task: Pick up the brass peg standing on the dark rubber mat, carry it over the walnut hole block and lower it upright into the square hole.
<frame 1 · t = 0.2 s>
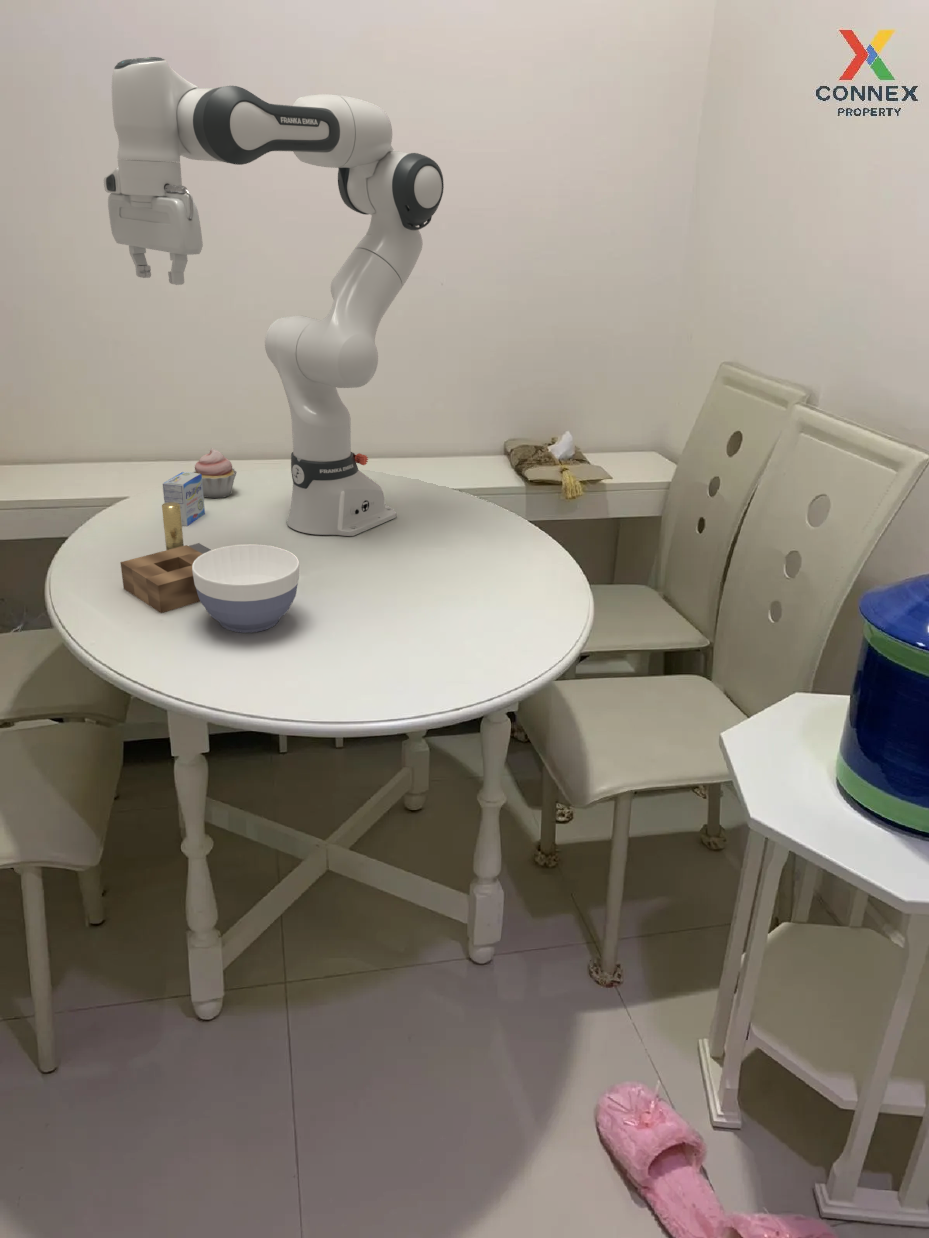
hand: (160, 280, 144), 47 cm above the table, fingers open, 8 cm apart
medicine box: (186, 520, 182), on the table
brass peg: (176, 558, 164), resting on rubber mat
hole block: (175, 592, 152), on the table
cupcake: (215, 494, 197), on the table
bowl: (249, 620, 145), on the table
rubber mat: (186, 557, 165), on the table
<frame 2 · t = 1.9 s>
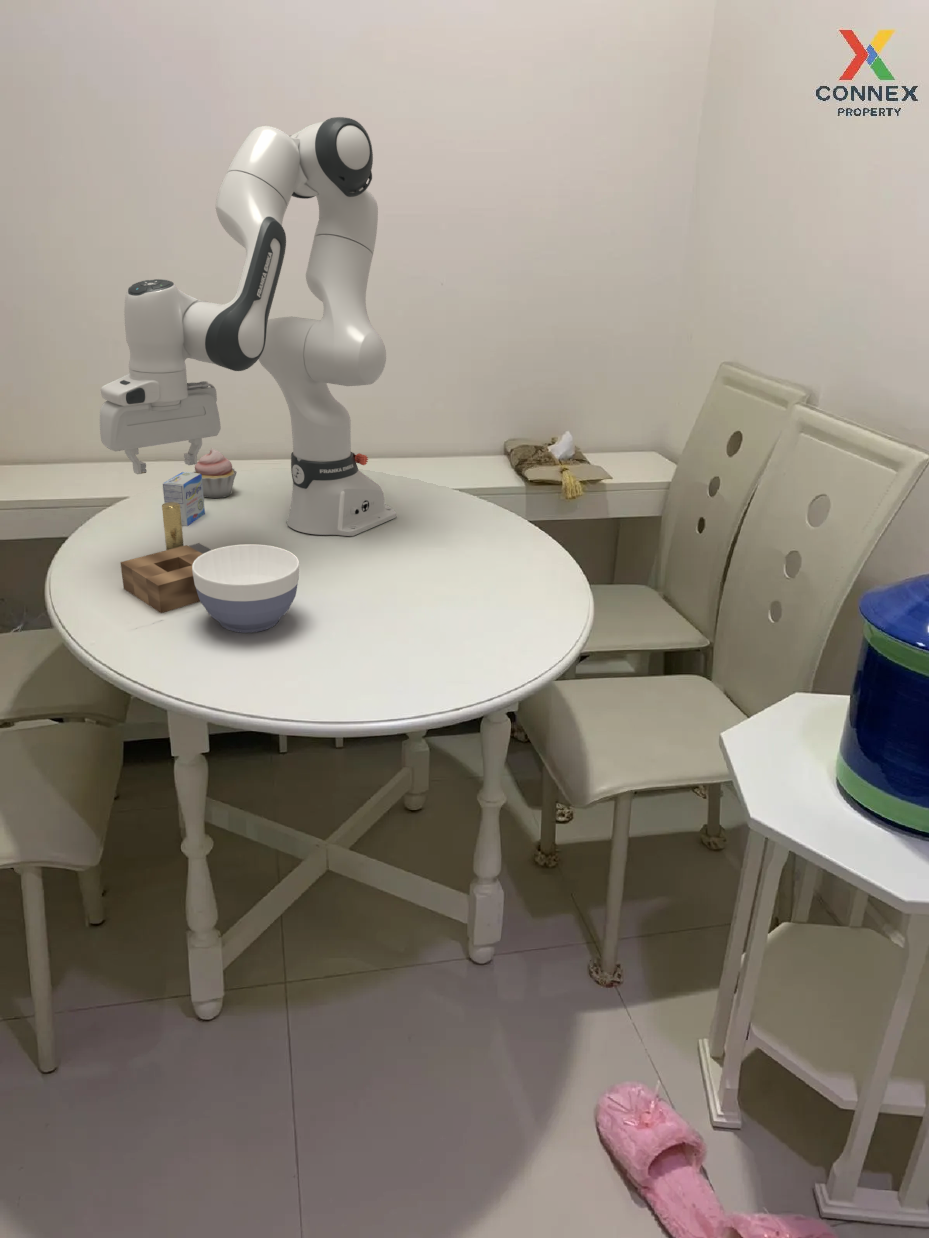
hand: (166, 468, 156), 17 cm above the table, fingers open, 8 cm apart
nothing on the table moved.
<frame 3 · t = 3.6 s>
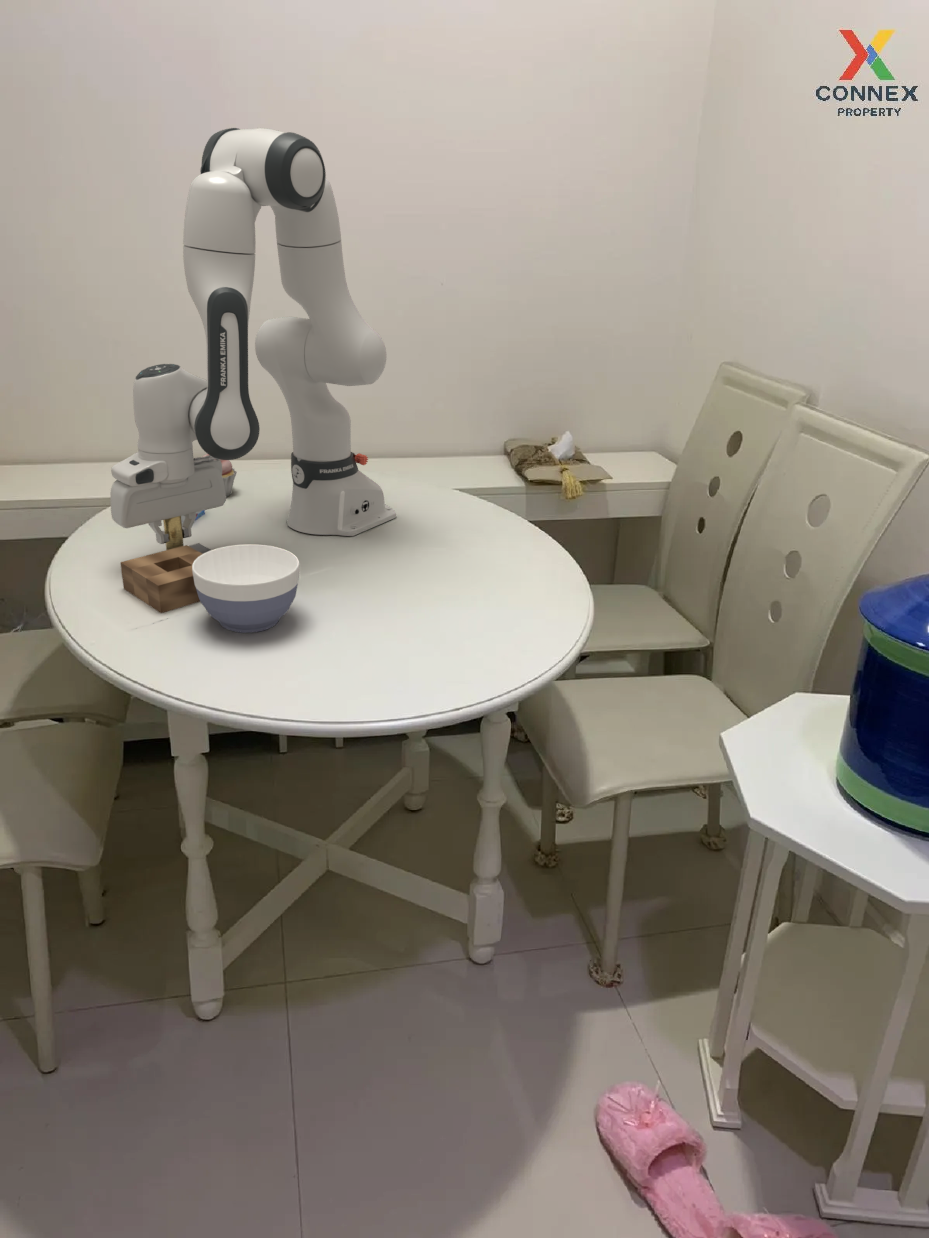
hand: (174, 539, 162), 4 cm above the table, fingers closed on brass peg, 3 cm apart
brass peg: (176, 558, 164), resting on rubber mat, touching gripper
everything else where it was.
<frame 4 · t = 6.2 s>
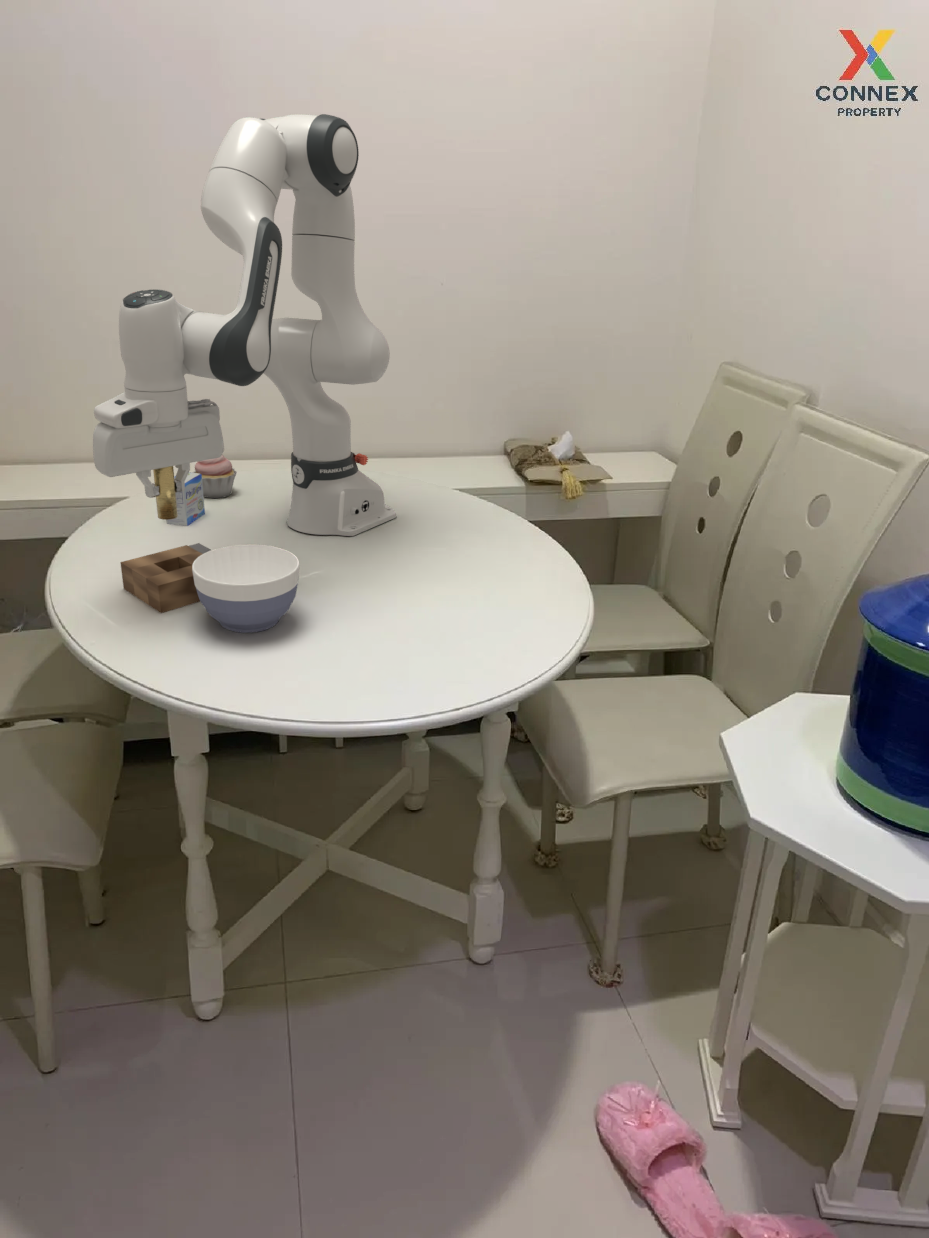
hand: (165, 493, 145), 17 cm above the table, fingers closed on brass peg, 3 cm apart
brass peg: (167, 516, 146), point 13 cm above the table, touching gripper
everything else where it was.
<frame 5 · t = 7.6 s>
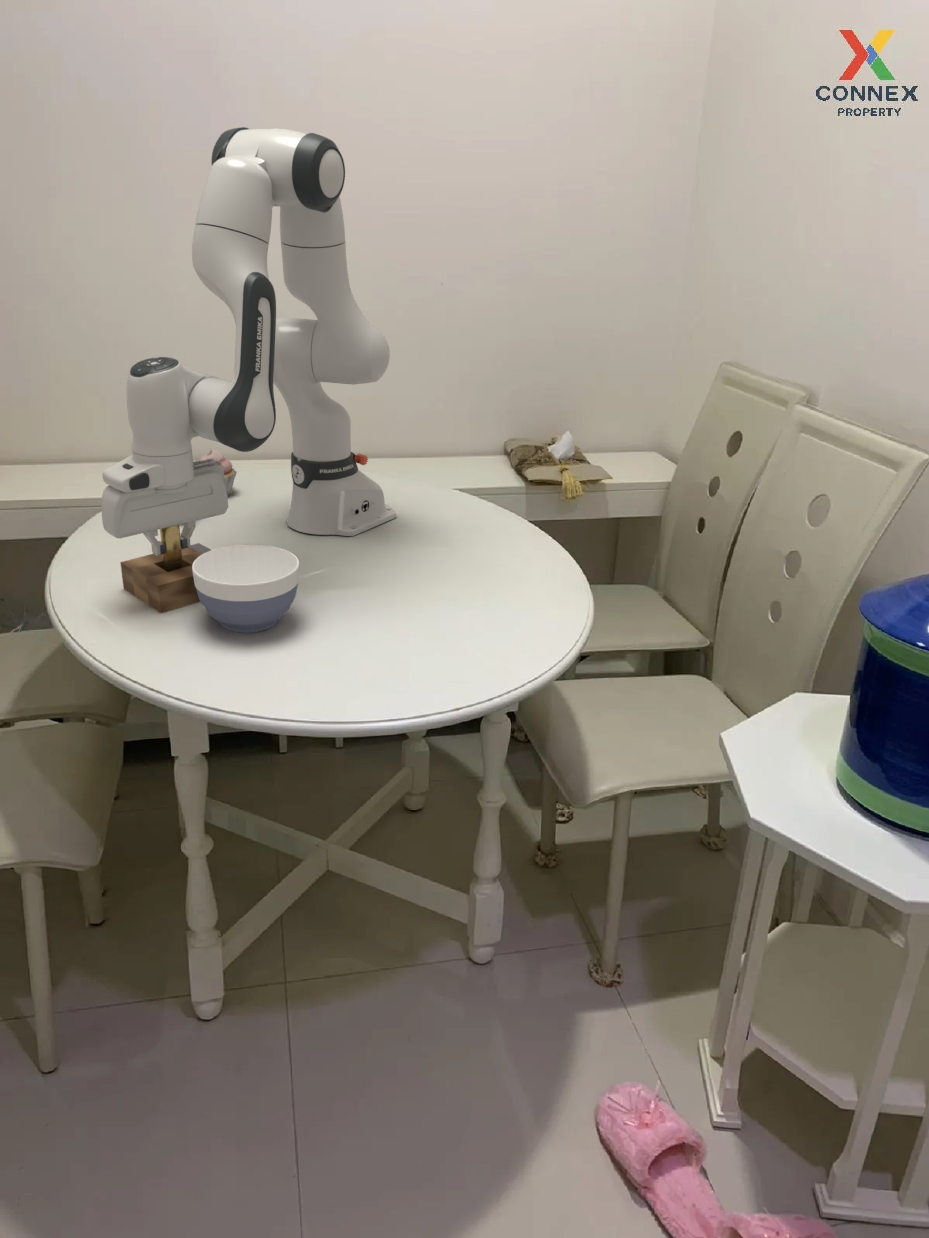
hand: (171, 550, 149), 7 cm above the table, fingers closed on brass peg, 3 cm apart
brass peg: (173, 572, 150), point 4 cm above the table, touching gripper
everything else where it was.
when the fingers open (6 cm above the table, at t = 8.5 s): brass peg drops 2 cm, resting in hole block.
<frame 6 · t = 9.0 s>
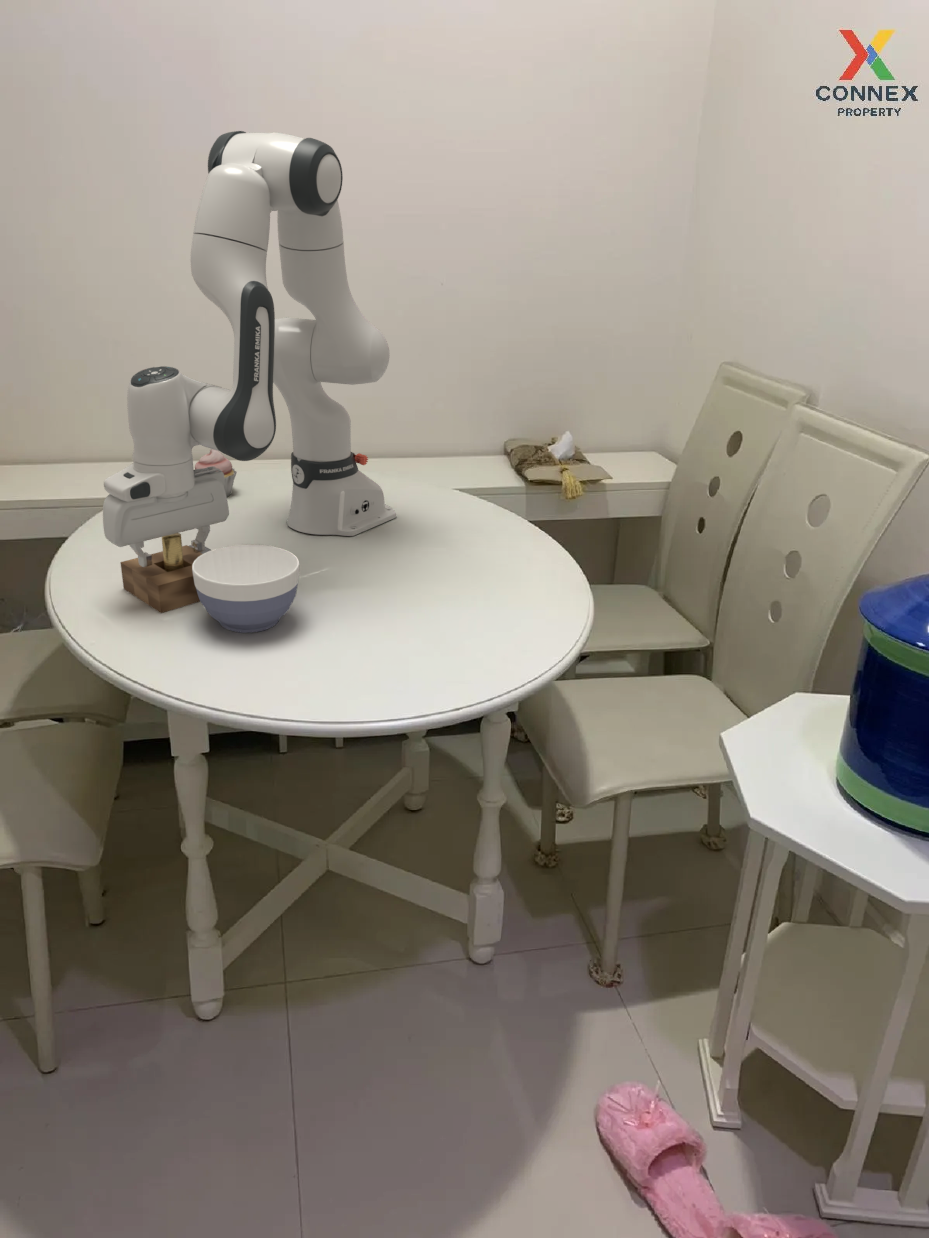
hand: (172, 558, 149), 6 cm above the table, fingers open, 8 cm apart
brass peg: (176, 592, 152), resting in hole block
everything else where it was.
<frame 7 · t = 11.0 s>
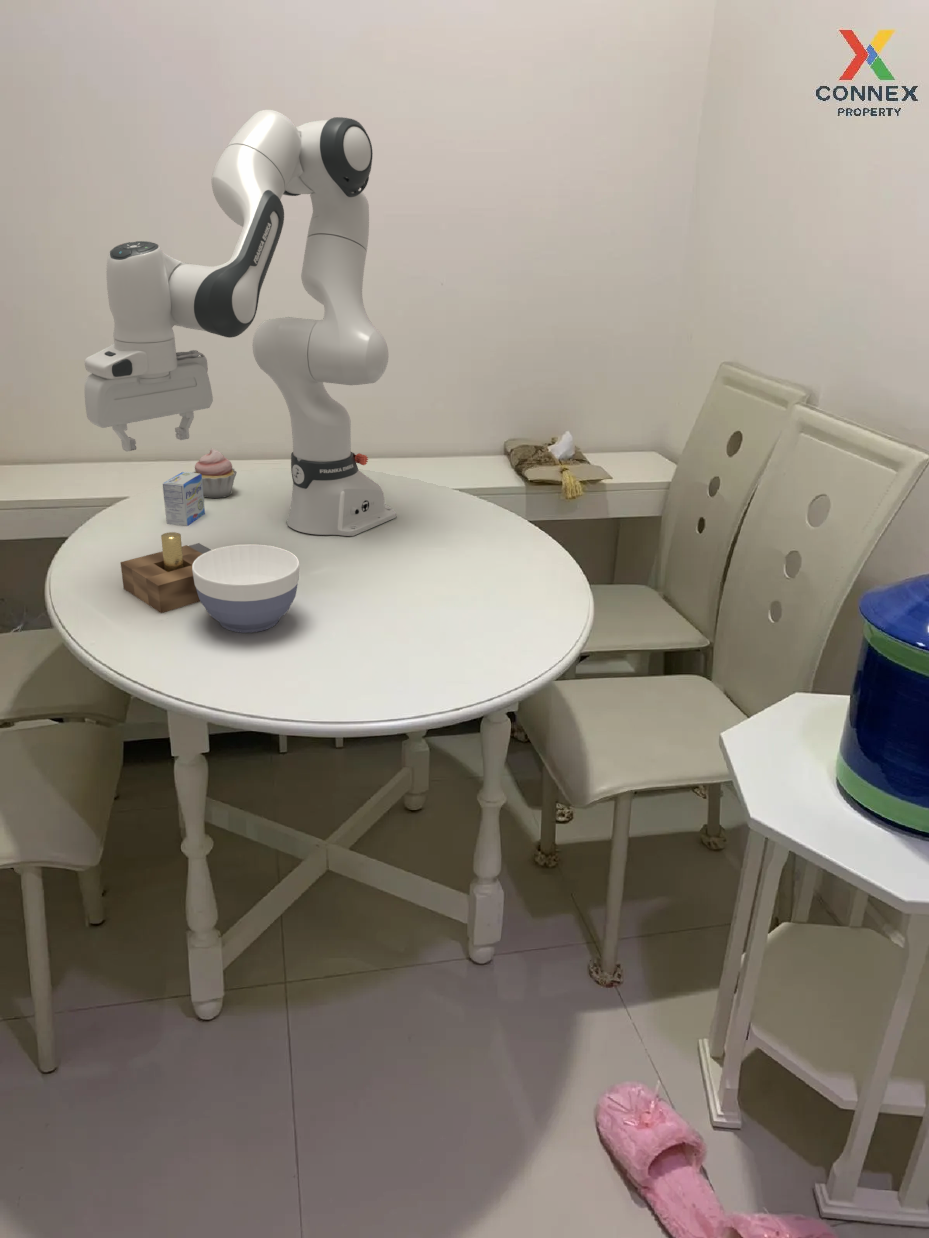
hand: (156, 444, 148), 23 cm above the table, fingers open, 8 cm apart
nothing on the table moved.
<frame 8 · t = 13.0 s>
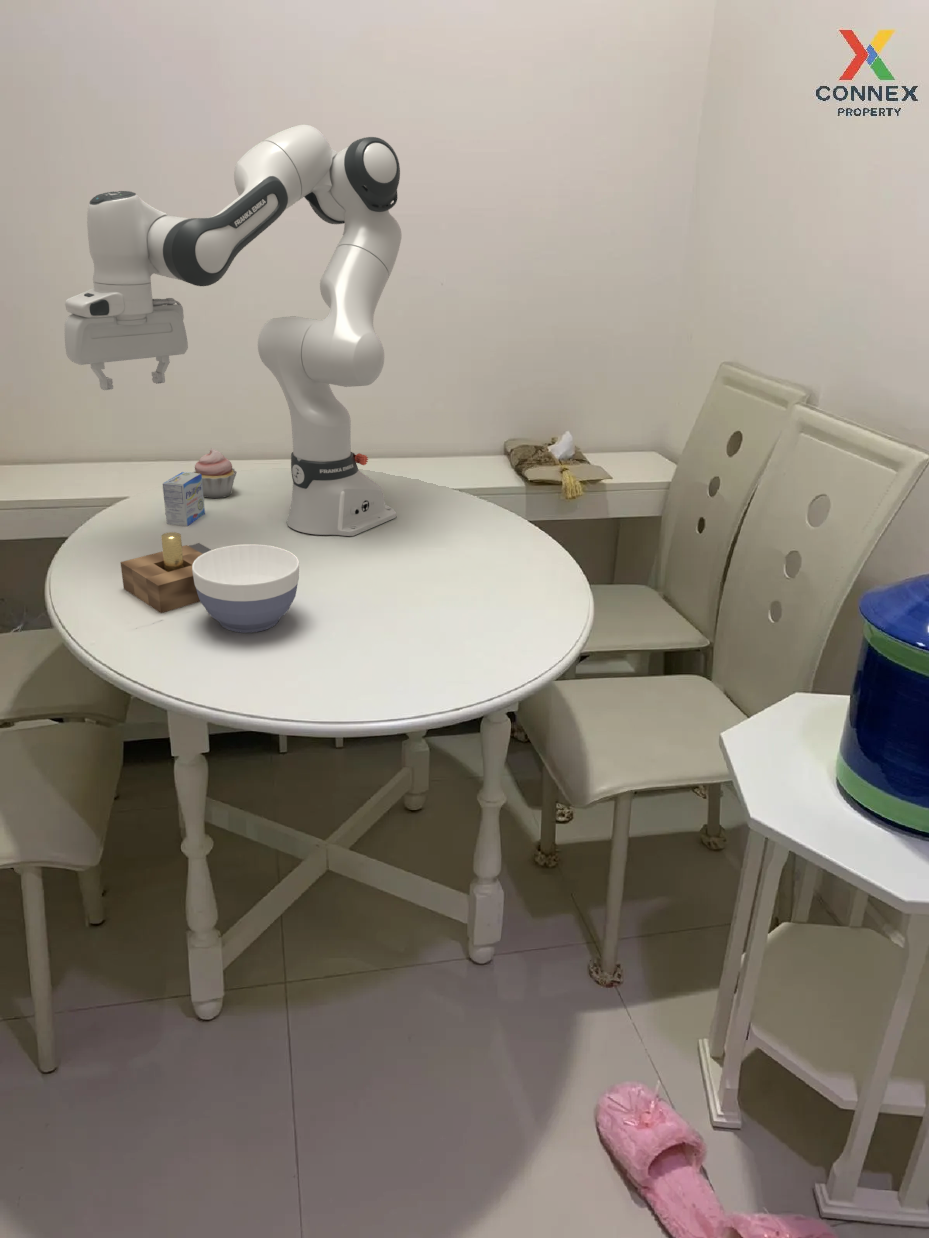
hand: (133, 386, 157), 29 cm above the table, fingers open, 8 cm apart
nothing on the table moved.
at the end: brass peg 0.1 cm off-centre on the hole block, point 0.0 cm above the hole block's base; brass peg tilted 0°; the gripper is holding nothing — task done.
